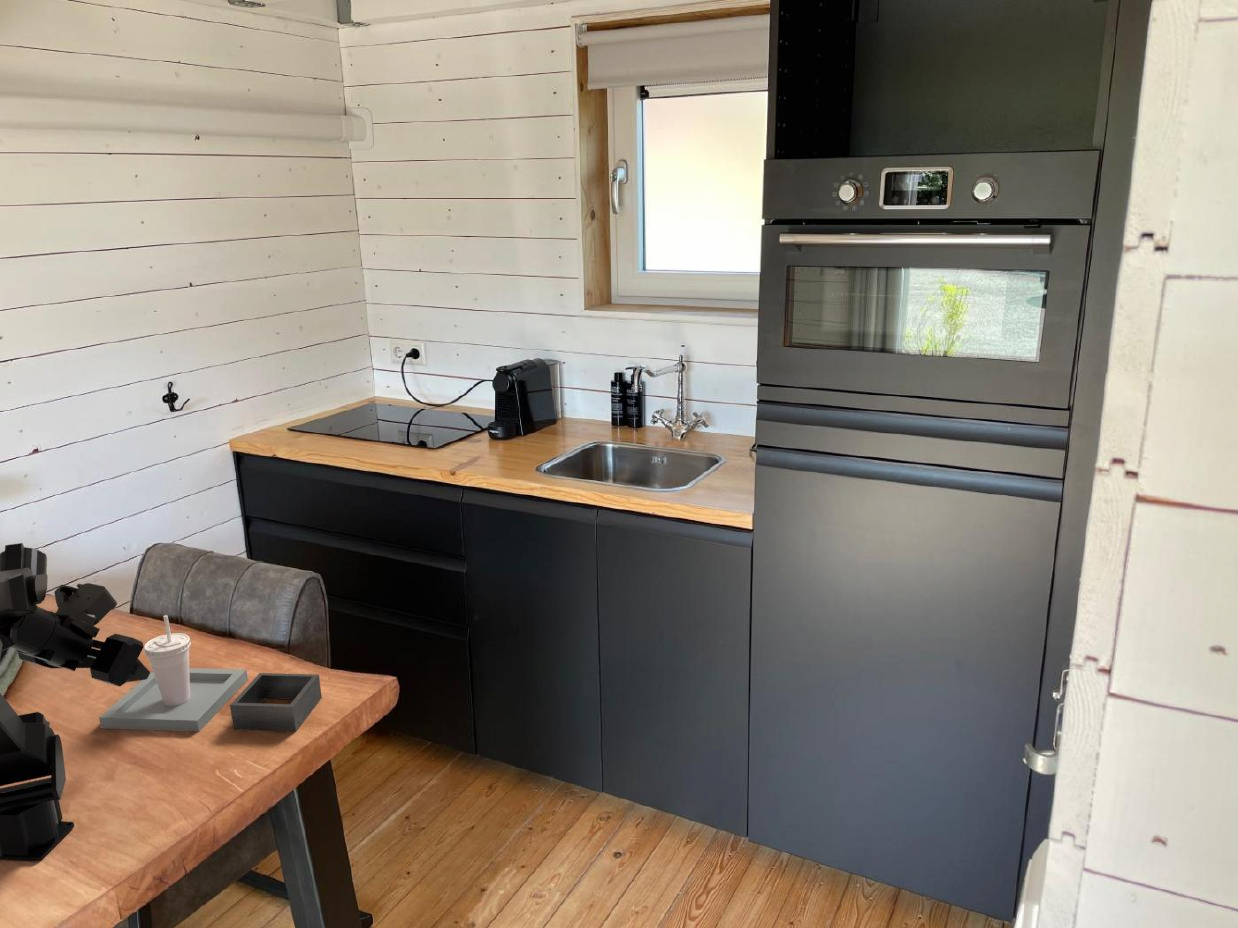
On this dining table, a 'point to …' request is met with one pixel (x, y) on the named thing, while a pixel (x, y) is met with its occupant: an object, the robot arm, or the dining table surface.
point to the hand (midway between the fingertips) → (124, 669)
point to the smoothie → (170, 665)
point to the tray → (151, 713)
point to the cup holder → (276, 716)
